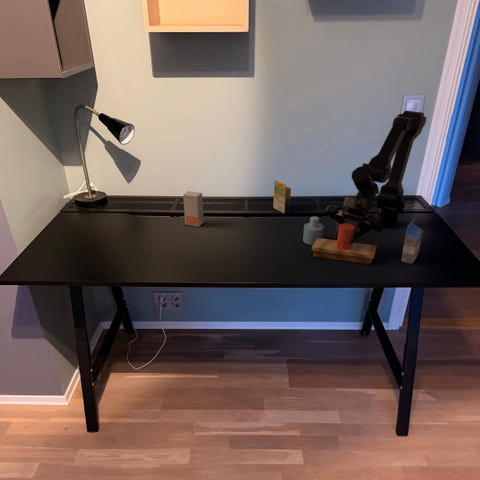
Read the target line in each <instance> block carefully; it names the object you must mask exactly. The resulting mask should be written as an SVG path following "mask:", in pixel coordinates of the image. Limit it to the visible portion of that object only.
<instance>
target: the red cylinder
mask: <svg viewBox="0 0 480 480" xmlns="http://www.w3.org/2000/svg"><path fill="white" fill-rule="evenodd" d="M355 231H356V227H355V225H354V224H351V223H348V222H347V223H346V222H345V224H340V225H339V230H338V238H337V243H336V246H337V248H339V249H342V250H343V249H344V250H349V249H351V248H352V247H353V243H352V244H350V240H351V238H352V236H353V234H354V233H355Z"/></svg>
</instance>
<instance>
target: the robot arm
mask: <svg viewBox="0 0 480 480" xmlns="http://www.w3.org/2000/svg"><path fill="white" fill-rule="evenodd" d="M426 122H427V116H425V113H424V112H422V111H413V110H404V111H403V113H399V114H397V115H396V117H394V119H393V121H392V126H391V127H390V130H389V132H388V134H387V136H386V138H385V139H384V142H383V144H382V146H381V147H380V149H379V151H378V153H377V154H376V155H374V156H373V157H371V159H370V160H369V162H368V163H365V162H363V164H361V166H358V167H356V168H355V169H354V170H352V172H351V180H352V183H353V184H354V186H355V188H356V190H357V192H356V194H355V195H353V196H352V197H351V196H344V201H343V203H342V207H343V208H345V210H346V211H347V212H346V211H343V209H342V208H341V206H339V205H335V204H329V205H328V206H327V207H326V209H325V212H326V213H327V215H328V217H329V219H331V220H334V221H336V222H335V223H336V224H335V225H336V226H335V234H334V240H337V238H338V230H339V225H340V224H345V223H346V221H345V220H346V219H347V220H349V221H353V222H357V223H358V224H357V227H356V228H355V230H354V234H353V236H352V238H351V240H350V244H352V243H356V241H357V240H359V239H360V238H361V237H363V236H364V235H366V234H367V233H371V232H372V231H374V232H378V233H382V231H384V228H388V229H389V228H390V229H396V228H397V225H398V218H399V214H400V213H404V210H405V207H406V202H405V199H404V193H405V191H404V187H403V184H402V183H403V180H404V176H405V172H406V169H407V166H408V162H409V158H410V155H411V151H412V148H413V144H414V141H415V140H416V139H417V138H418V137H419V135H421V133H422V131H423V128H424V127H425V125H426ZM393 158H394V159H393ZM392 161H393V162H392ZM378 183H379V184H382V185H381V187H380V188H379V185H378ZM384 183H385V184H384ZM376 196H377V197H376ZM375 198H377V199H376V201H377V203H376V208H377V209H380V210H379V211H378V216H377V215H374V214H370V215H368V217H366V216H367V214H368V211H371V210H372V204H373V202H374V200H375Z"/></svg>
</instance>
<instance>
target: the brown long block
mask: <svg viewBox="0 0 480 480" xmlns="http://www.w3.org/2000/svg"><path fill="white" fill-rule="evenodd" d="M336 243H337V240H336V239H328V238H323V239H321V238H316V240H315V242H314V244H313V245H312V246H311V251H313V253H312V254H313V257H315V258H316V257H317V258H324V259H331V260H338V261H345V262H352V263H358V264H365V265H366V264H367V265H372V261H373V260H374V259H375V256H376V251H377V246H378V245H374V244H367V243H358V242H354V243H353V247H352V248H351V249H349V250H344V249H343V250H342V249H339V248H337V246H336Z"/></svg>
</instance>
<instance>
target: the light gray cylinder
mask: <svg viewBox="0 0 480 480" xmlns="http://www.w3.org/2000/svg"><path fill="white" fill-rule="evenodd" d="M324 228H325V225H324V224H322V223H320V217H318V216H311V217H309V222H307V223H304V225H303V233H302V236H303V237H302V242H303V243H304V244H306V245H308V246H309V245H310V246H311V245H312V246H313V244H314V242H315V240H316V238H321V239H324V231H325V229H324Z"/></svg>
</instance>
